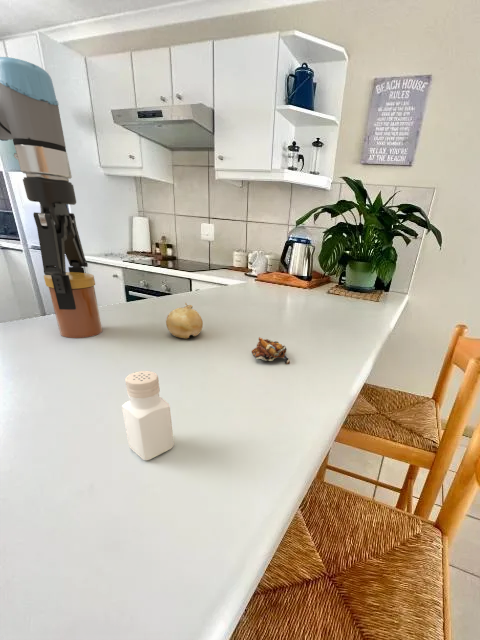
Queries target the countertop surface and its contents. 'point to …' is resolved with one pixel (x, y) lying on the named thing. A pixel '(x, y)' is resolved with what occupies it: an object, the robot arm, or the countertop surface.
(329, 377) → the countertop surface
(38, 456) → the countertop surface
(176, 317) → the onion
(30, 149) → the robot arm
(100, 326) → the jar
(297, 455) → the countertop surface
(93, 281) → the lid
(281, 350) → the brown lumpy piece
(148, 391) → the salt shaker
